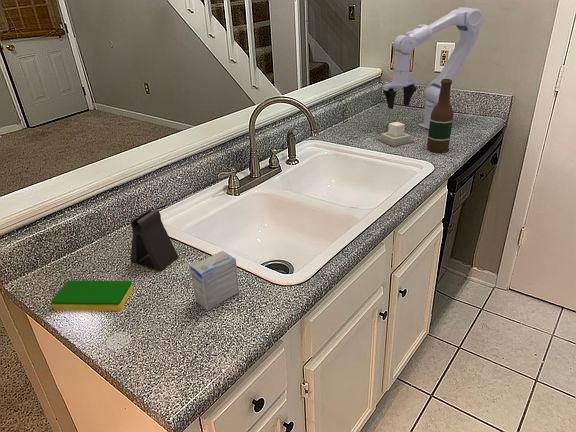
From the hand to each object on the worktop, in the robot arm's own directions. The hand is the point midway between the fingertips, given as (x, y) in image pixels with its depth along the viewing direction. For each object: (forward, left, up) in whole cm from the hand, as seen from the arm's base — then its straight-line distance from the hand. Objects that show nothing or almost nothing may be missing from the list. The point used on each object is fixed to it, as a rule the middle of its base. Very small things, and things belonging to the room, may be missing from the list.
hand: (398, 106), depth 172 cm
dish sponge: (+119, +50, -10) cm, 129 cm away
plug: (+8, +9, -9) cm, 15 cm away
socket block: (+8, +9, -9) cm, 15 cm away
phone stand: (+105, +42, -10) cm, 113 cm away
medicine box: (+97, +62, -10) cm, 116 cm away
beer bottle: (+2, +24, -10) cm, 26 cm away
